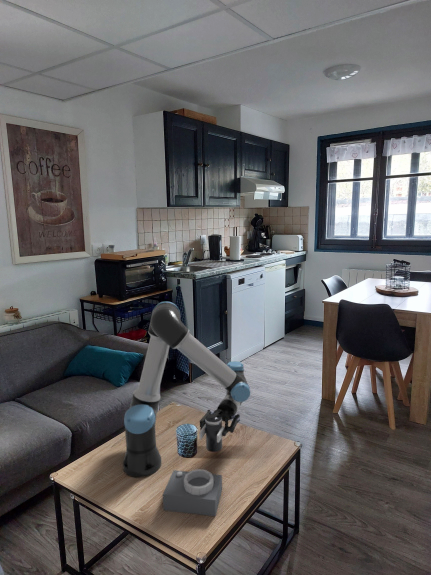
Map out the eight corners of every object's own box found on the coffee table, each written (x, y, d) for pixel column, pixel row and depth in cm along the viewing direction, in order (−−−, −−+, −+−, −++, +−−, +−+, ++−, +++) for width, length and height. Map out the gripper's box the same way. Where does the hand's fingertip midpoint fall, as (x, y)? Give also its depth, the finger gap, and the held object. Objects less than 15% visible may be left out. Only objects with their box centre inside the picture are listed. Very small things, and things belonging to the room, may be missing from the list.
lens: (204, 451, 145) (203, 421, 142) (207, 442, 150) (206, 412, 148) (221, 452, 144) (220, 422, 141) (223, 443, 150) (223, 413, 147)
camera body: (163, 510, 134) (162, 487, 132) (174, 484, 146) (173, 464, 145) (215, 516, 130) (215, 493, 129) (222, 489, 143) (221, 468, 141)
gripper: (250, 419, 160) (234, 451, 139) (207, 412, 166) (185, 442, 145) (250, 402, 159) (234, 432, 137) (206, 396, 165) (184, 423, 143)
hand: (209, 437), depth 141 cm, fingers closed on lens, 6 cm apart
